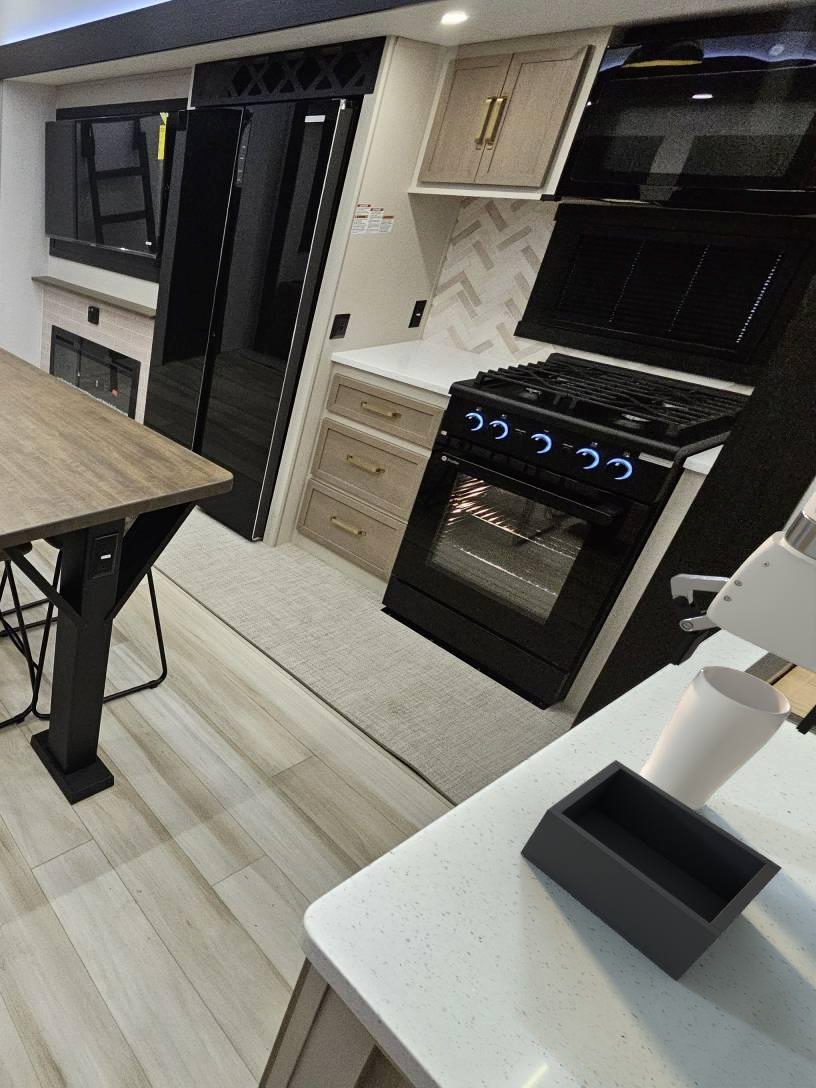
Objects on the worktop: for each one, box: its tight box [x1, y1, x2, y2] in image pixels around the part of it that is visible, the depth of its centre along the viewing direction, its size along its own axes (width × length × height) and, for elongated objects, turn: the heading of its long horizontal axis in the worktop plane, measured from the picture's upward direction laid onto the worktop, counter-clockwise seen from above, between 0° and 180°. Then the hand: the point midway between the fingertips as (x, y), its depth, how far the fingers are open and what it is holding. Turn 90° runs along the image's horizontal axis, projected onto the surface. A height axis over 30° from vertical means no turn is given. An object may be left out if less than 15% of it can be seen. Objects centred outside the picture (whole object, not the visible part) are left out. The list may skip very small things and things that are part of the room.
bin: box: [520, 759, 782, 982], centre depth 63 cm, size 13×13×7 cm
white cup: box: [639, 665, 793, 811], centre depth 70 cm, size 7×7×15 cm
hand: (738, 692), depth 66 cm, fingers open, 9 cm apart
